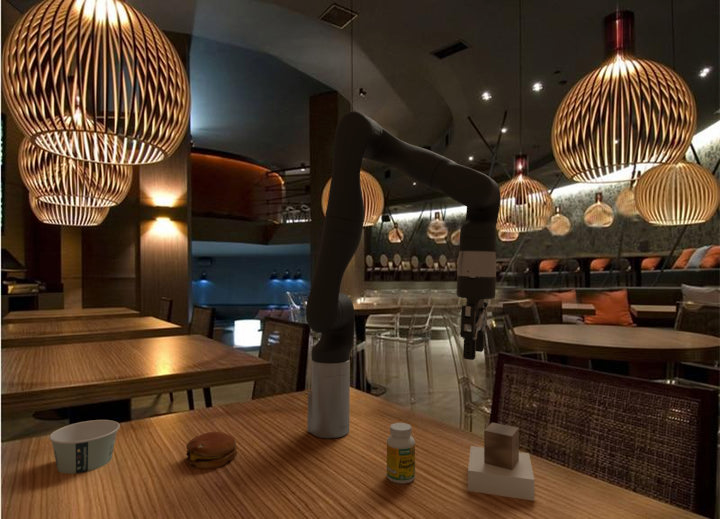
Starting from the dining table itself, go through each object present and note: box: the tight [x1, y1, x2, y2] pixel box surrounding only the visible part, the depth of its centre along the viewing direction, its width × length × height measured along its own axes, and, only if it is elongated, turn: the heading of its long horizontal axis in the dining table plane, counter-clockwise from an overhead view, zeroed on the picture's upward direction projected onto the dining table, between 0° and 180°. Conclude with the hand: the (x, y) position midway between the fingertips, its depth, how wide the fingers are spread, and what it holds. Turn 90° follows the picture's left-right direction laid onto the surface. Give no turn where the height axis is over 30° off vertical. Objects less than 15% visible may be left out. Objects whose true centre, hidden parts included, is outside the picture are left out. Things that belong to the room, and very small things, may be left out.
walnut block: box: [483, 422, 520, 470], centre depth 81 cm, size 5×5×6 cm
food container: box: [48, 419, 121, 475], centre depth 87 cm, size 12×12×6 cm
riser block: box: [467, 445, 535, 502], centre depth 81 cm, size 11×11×4 cm
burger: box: [185, 431, 238, 470], centre depth 89 cm, size 10×9×5 cm
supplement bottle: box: [386, 422, 416, 485], centre depth 82 cm, size 5×5×10 cm
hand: (473, 355), depth 87 cm, fingers open, 8 cm apart
